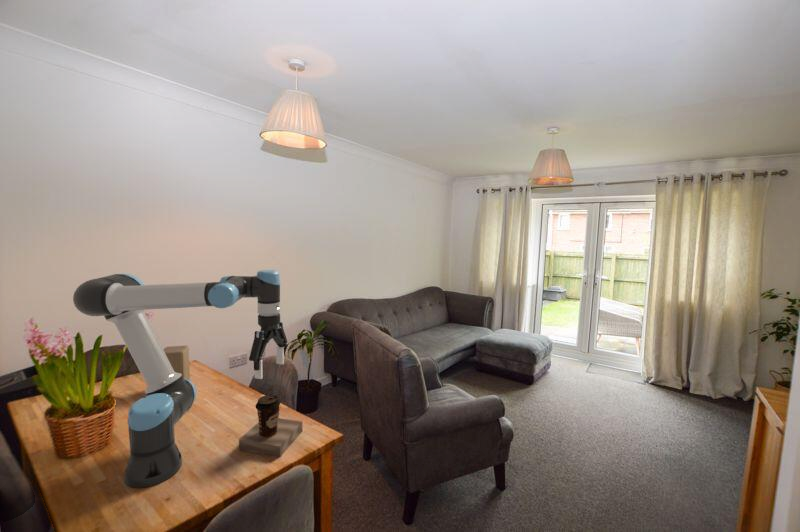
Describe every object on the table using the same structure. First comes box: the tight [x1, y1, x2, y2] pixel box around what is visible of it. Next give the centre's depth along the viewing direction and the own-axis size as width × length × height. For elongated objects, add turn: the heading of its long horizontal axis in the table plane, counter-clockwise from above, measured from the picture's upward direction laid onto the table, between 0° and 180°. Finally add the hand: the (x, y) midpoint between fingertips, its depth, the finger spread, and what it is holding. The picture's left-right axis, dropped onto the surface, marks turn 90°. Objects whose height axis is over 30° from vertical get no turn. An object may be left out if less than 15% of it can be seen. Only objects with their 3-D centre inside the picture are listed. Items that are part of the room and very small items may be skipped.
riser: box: [238, 417, 304, 458], centre depth 131 cm, size 16×16×4 cm
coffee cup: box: [255, 394, 281, 437], centre depth 128 cm, size 9×8×13 cm
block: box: [163, 345, 191, 381], centre depth 168 cm, size 10×10×20 cm
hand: (269, 370), depth 129 cm, fingers open, 13 cm apart
